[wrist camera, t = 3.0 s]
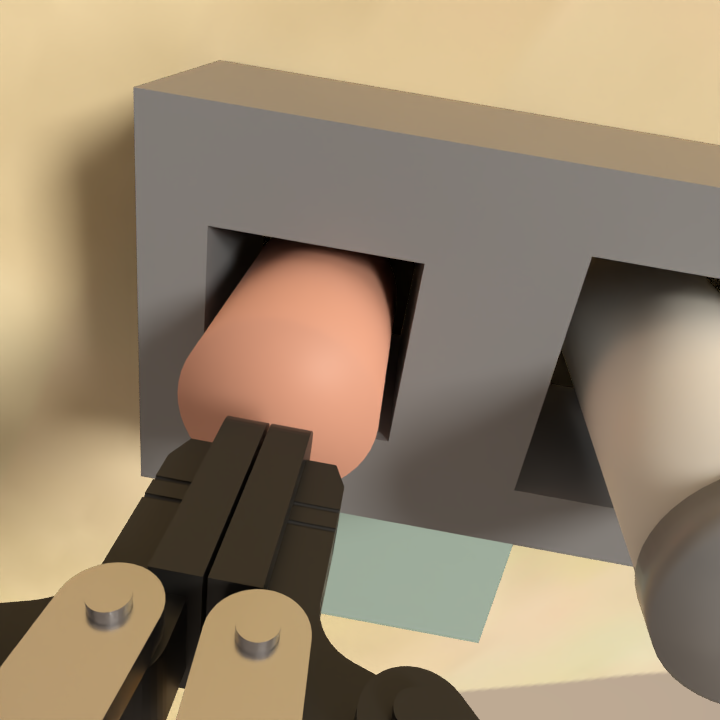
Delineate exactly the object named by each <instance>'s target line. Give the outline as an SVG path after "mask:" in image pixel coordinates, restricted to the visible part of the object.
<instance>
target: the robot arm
mask: <svg viewBox="0 0 720 720" xmlns="http://www.w3.org/2000/svg"><path fill="white" fill-rule="evenodd" d="M312 440H313V431H310V430H304V429H299V428H294V427H288V426H283V425H277V424H271V425H270V424H269V423H266V422H260V421H255V420H249V419H244V418H239V417H233V416H227V417H226V418H225V420H224V421H223V423H222V425H221V427H220V429H219V431H218V433H217V435H216V437H215V439H214V441H213V442H208V441H203V440H197V439H192V438H191V439H190V440H188V441H187V442H185V443H184V444H183V445H181V446H180V447H178V448H177V449H175V450H174V451H172V452H171V453H170V454H168V456H167V457H166V459H165V461H164V462H163V464H162V466H161V467H160V469H159V471H158V472H157V474H156V477H155V480H154V479H153V481H152V482H151V484H150V485H149V487H148V489H147V490H146V492H145V496H144V497H142V499H141V500H140V502H139V504H138V505H137V507H136V509H135V510H134V512H133V513H132V515H131V517H130V518H129V520H128V522H127V523H126V525H125V527H124V528H123V530H122V532H121V533H120V535H119V537H118V538H117V540H116V541H115V543H114V545H113V546H112V548H111V550H110V551H109V553H108V555H107V556H106V558H105V560H104V561H103V563H102V564H101V565H97V566H94V567H91V568H88V569H86V570H84V571H82V572H80V573H78V574H77V575H75V576H74V577H72V578H71V579H70V580H68V581H67V582H66V583H65V584H64V585H63V586H62V587H61V588H60V589H59V591H58V592H57V593H56V595H55V596H53V597H49V598H44V599H39V600H31V601H19V602H7V603H0V720H166V719H167V716H168V713H169V711H170V708H171V706H172V703H173V701H174V698H175V695H176V693H177V690H178V688H184V689H185V690H184V694H183V697H182V700H181V704H180V707H179V711H178V714H177V718H176V720H479V719H478V717H477V716H476V715H475V714H474V712H473V711H472V709H471V708H470V707H469V705H468V704H467V703H466V701H465V700H464V699H463V697H462V696H461V695H460V693H459V692H458V691H457V690H456V689H455V688H454V687H453V686H452V685H451V684H450V683H449V682H448V681H446V680H445V679H443V678H442V677H440V676H439V675H437V674H435V673H433V672H431V671H428V670H425V669H422V668H418V667H411V666H400V667H394V668H390V669H387V670H385V671H382V672H381V673H379V674H377V675H375V674H374V673H372V672H370V671H368V670H366V669H364V668H362V667H361V666H359V665H357V664H355V663H353V662H352V661H350V660H348V659H347V658H345V657H344V656H343V655H342V654H341V653H339V652H338V651H337V650H336V649H335V648H334V646H333V645H332V644H331V643H330V641H329V640H328V638H327V637H326V635H325V633H324V631H323V628H322V625H321V621H320V616H321V611H322V606H323V601H324V596H325V591H326V586H327V581H328V576H329V571H330V566H331V561H332V556H333V551H334V545H335V539H336V534H337V528H338V522H339V516H340V510H341V504H342V498H343V492H344V485H343V482H342V479H341V476H340V474H339V471H338V468H337V466H336V465H332V464H327V463H322V462H316V461H311V460H310V455H311V447H312Z"/></svg>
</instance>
